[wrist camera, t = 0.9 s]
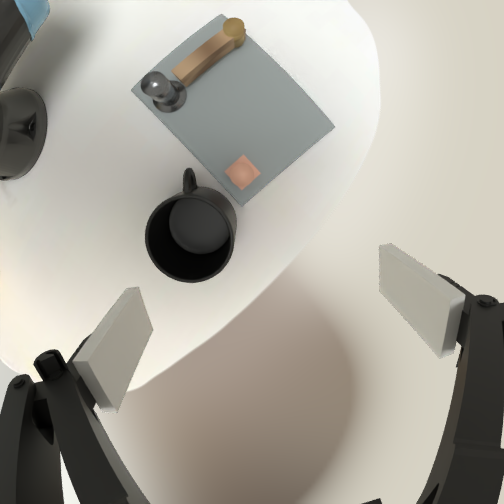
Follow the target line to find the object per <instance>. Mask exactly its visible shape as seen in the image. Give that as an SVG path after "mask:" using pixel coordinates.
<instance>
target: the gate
mask: <svg viewBox="0 0 504 504" xmlns="http://www.w3.org/2000/svg"><path fill="white" fill-rule="evenodd" d="M245 40H246V29H245V28H244V23H243V21H242V20H241V19H239V18H229V19H227V20H226V21H225V22H224V23H223V29H222V30H221V31H219V32H218V33H217V34H215V35H214V36H213V37H211V38H210V39H209V40H207V41H206V42H205V43H204V44H202V45H201V46H200V47H198V48H197V49H196V50H195V51H193V52H192V53H191V54H190V55H189V56H187V57H186V58H185V59H184V60H183V61H181V62H180V63H179V64H178V65H177V66H176V67H175V68H173V69H172V70H171V72H172V73H173V74H174V75H175V76H176V78H177V79H178V80H179V81H180V82H182V83H183V84H184V85H185V86H186V87H187V86H188V85H189V84H191V83H192V82H193V81H194V80H195V79H196V78H198V77H199V76H200V75H201V74H202V73H203V72H205V71H206V70H207V69H208V68H210V67H211V66H212V65H213V64H214V63H216V62H217V61H218V60H220V59H221V58H222V57H223V56H225V55H226V54H227V53H229V52H230V51H231V50H233V49H234V48H237V47H240V46H241V45H242V44H243V43H244V41H245Z"/></svg>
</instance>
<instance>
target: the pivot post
mask: <svg viewBox="0 0 504 504" xmlns="http://www.w3.org/2000/svg"><path fill="white" fill-rule="evenodd" d="M141 90H142V92H143V93H145V94H146V95H148V96H149V97H151V98H153V103H154V105H155V107H156V108H157V109H158V110H160V111H162V112H164V113H172V112H176V111H178V110H179V109H180V108H181V107H182V106H183V105H184V104H185V102H186V99H187V92H186V89H185V87H184V86H183V85H182V84H181V83H180V82H178V81H175V80H168V79H167V78H166V77H165V76H164V75H163V74H162V73H161V72H158V71H152V72H149V73H148V74H146V75H145V76H144V77H143V79H142V81H141Z"/></svg>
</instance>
